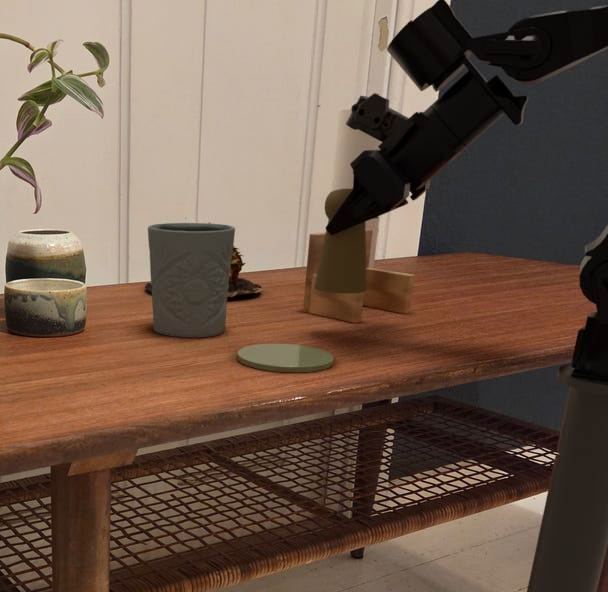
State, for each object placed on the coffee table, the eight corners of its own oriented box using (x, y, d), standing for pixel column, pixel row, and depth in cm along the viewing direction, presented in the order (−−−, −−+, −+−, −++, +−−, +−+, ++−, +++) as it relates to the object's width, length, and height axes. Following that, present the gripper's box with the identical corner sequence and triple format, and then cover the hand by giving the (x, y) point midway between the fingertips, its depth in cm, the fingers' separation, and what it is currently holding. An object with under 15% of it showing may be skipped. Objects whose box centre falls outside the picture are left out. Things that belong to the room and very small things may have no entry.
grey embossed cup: (199, 342, 99) (204, 233, 95) (128, 330, 105) (129, 226, 100) (245, 328, 107) (251, 225, 102) (176, 317, 112) (179, 219, 108)
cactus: (136, 298, 124) (137, 227, 120) (153, 280, 138) (154, 216, 135) (259, 304, 121) (264, 231, 117) (263, 285, 136) (268, 219, 132)
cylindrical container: (313, 287, 134) (329, 109, 125) (354, 285, 136) (373, 110, 127) (337, 295, 128) (356, 109, 119) (380, 293, 130) (402, 110, 121)
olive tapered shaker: (308, 290, 101) (317, 189, 96) (319, 282, 106) (328, 186, 102) (362, 295, 98) (373, 191, 94) (371, 286, 103) (381, 188, 99)
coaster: (348, 358, 94) (349, 353, 93) (307, 378, 86) (308, 372, 86) (264, 344, 99) (265, 339, 99) (219, 361, 92) (219, 356, 91)
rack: (410, 312, 117) (420, 235, 113) (355, 323, 111) (364, 241, 107) (357, 302, 123) (365, 228, 120) (302, 311, 117) (309, 233, 113)
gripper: (414, 71, 100) (309, 171, 108) (382, 60, 84) (263, 179, 92) (477, 146, 99) (367, 241, 108) (457, 150, 84) (331, 260, 92)
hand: (333, 229), depth 100 cm, fingers closed on olive tapered shaker, 5 cm apart
